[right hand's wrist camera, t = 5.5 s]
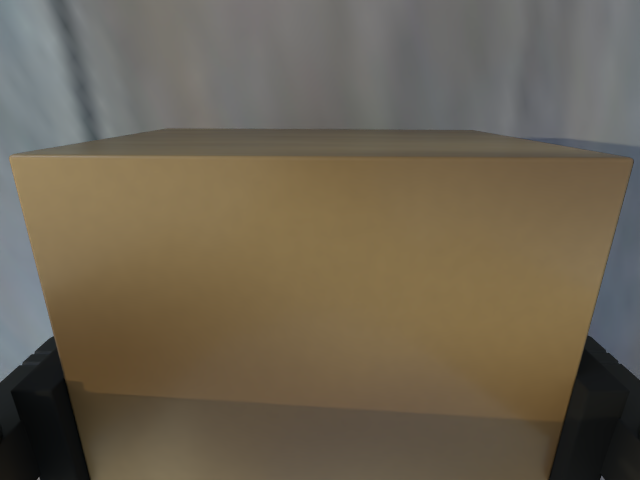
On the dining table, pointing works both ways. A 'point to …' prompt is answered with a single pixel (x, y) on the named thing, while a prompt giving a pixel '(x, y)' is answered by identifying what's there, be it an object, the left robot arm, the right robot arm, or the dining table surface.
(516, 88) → the dining table surface
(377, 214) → the wooden beam
